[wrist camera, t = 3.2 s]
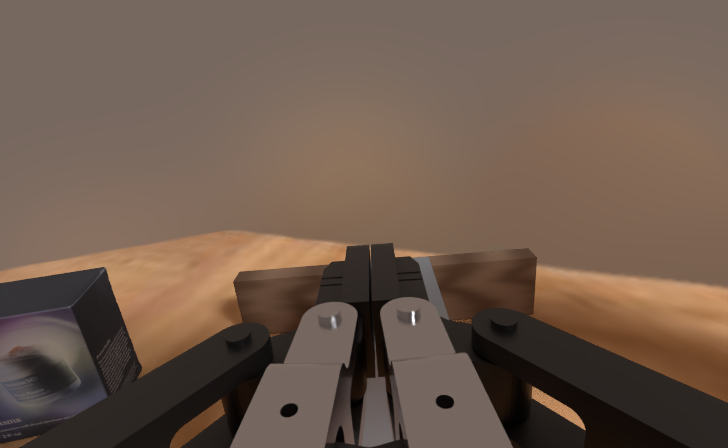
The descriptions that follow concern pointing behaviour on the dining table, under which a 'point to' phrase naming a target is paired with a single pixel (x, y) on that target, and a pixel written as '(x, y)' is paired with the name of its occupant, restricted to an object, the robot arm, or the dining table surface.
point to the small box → (59, 350)
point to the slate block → (376, 399)
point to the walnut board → (452, 272)
